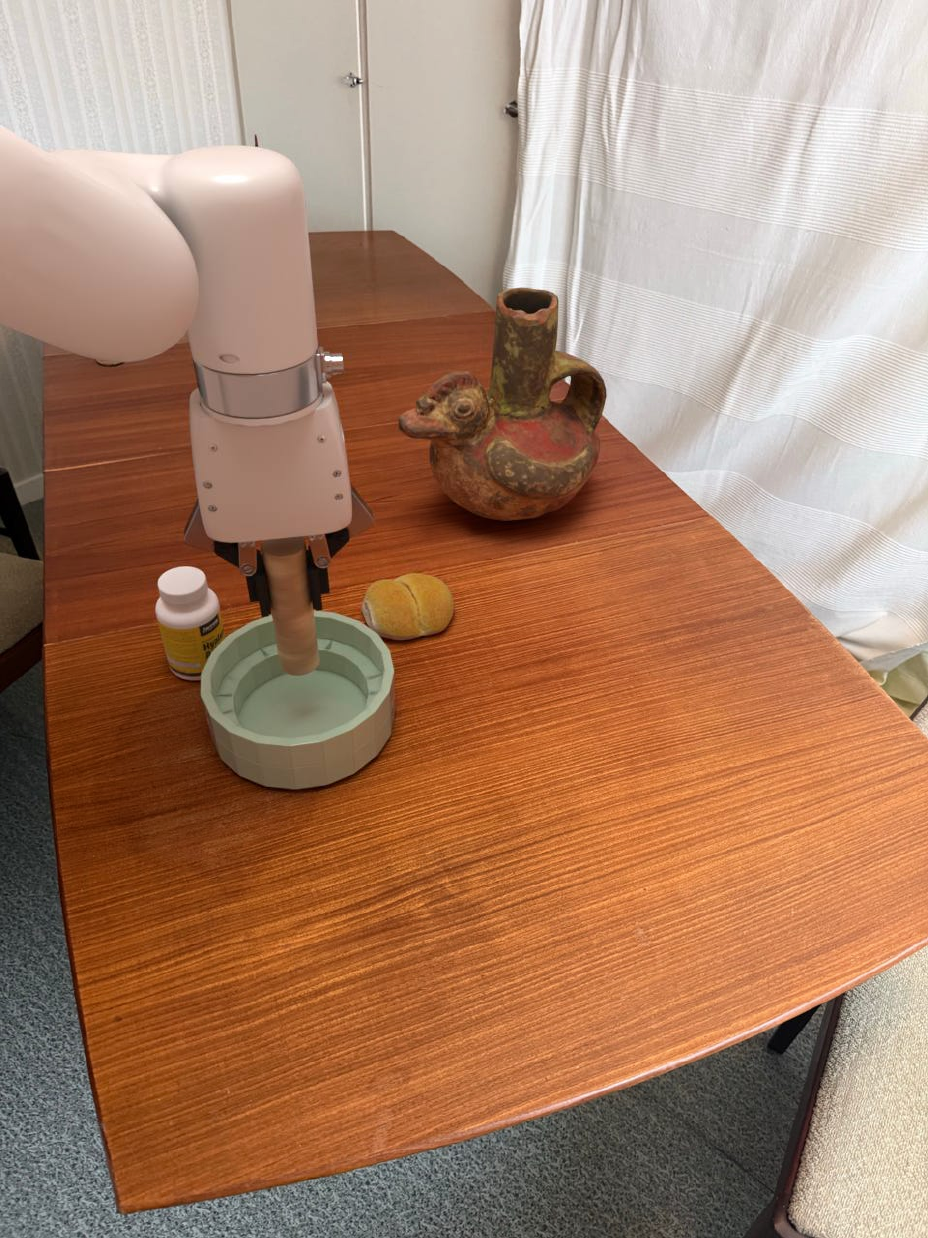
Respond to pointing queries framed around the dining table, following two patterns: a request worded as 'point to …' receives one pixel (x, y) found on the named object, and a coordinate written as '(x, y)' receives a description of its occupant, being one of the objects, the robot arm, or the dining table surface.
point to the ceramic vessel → (514, 419)
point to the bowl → (299, 704)
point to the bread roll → (408, 606)
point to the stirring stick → (291, 604)
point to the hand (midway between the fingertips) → (291, 600)
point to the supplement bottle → (188, 620)
